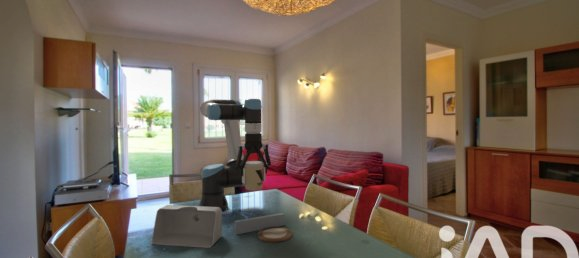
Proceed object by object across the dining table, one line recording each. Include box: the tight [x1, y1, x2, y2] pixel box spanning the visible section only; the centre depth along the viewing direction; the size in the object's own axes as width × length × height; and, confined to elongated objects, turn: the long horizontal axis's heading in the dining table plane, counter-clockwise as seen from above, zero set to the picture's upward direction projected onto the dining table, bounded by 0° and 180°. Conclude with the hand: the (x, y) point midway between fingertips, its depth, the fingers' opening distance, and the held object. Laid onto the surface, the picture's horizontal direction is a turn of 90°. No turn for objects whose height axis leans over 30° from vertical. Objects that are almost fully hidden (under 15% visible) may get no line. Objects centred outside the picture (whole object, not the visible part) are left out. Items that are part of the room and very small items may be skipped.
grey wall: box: [234, 212, 285, 235], centre depth 119 cm, size 2×22×5 cm, turn 116°
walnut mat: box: [257, 226, 293, 244], centre depth 113 cm, size 14×14×1 cm
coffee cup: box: [244, 160, 264, 191], centre depth 126 cm, size 9×9×12 cm
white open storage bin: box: [151, 204, 223, 249], centre depth 112 cm, size 25×16×12 cm, turn 81°
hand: (253, 181), depth 126 cm, fingers closed on coffee cup, 9 cm apart
